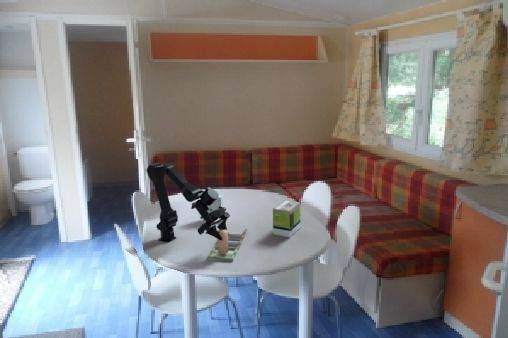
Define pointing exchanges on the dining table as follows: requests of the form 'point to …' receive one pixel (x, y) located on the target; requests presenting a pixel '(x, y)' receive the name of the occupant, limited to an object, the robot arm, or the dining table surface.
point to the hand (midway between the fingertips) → (225, 237)
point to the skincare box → (217, 202)
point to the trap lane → (232, 248)
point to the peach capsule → (223, 242)
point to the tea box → (286, 218)
